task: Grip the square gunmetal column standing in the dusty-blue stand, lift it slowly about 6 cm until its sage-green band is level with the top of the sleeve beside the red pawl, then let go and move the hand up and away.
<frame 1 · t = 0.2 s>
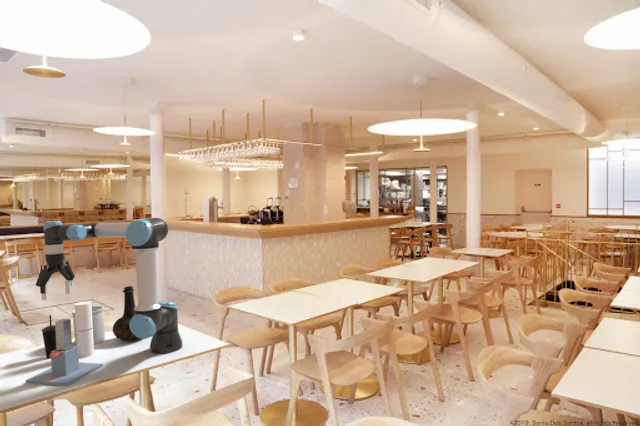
hand: (57, 296, 208), 28 cm above the table, tool pointing down, fingers open, 13 cm apart
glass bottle: (132, 339, 228), on the table
drinking cup: (52, 356, 206), on the table
cylindrical container: (85, 355, 207), on the table
stand: (65, 374, 183), on the table
column: (64, 345, 183), point 12 cm above the table, slide at 0.0 cm
utensil holder: (89, 342, 226), on the table
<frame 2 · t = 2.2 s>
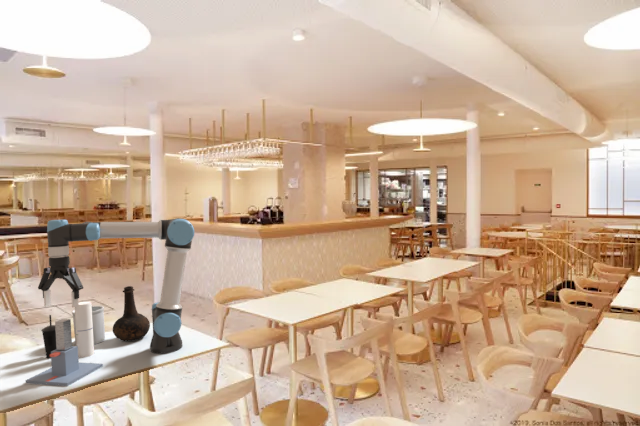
hand: (61, 306, 182), 29 cm above the table, tool pointing down, fingers open, 13 cm apart
nothing on the table moved.
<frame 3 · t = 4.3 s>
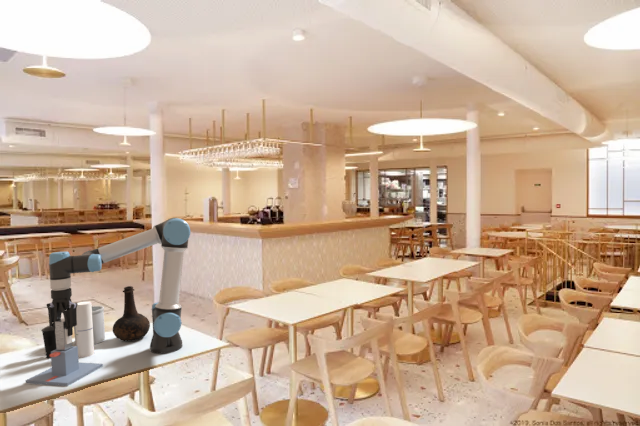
hand: (64, 342, 183), 14 cm above the table, tool pointing down, fingers closed on column, 4 cm apart
column: (64, 345, 183), point 12 cm above the table, slide at 0.0 cm, touching gripper
everything else where it was.
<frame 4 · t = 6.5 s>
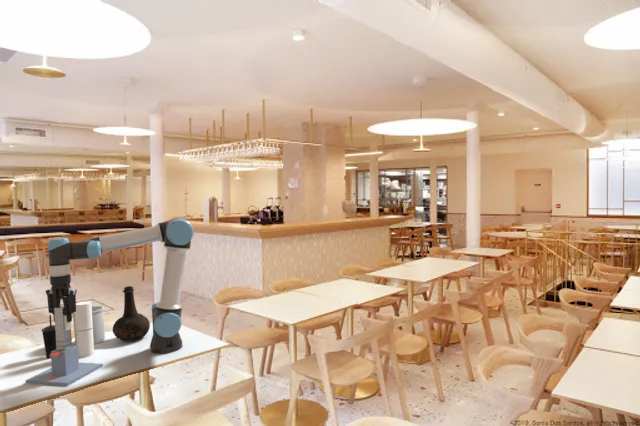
hand: (63, 329, 183), 19 cm above the table, tool pointing down, fingers closed on column, 4 cm apart
column: (63, 332, 183), point 18 cm above the table, slide at 5.8 cm, touching gripper
everything else where it was.
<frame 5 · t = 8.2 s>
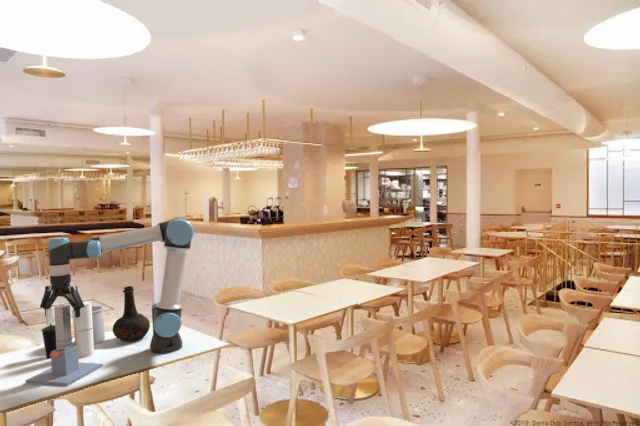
hand: (63, 324, 182), 22 cm above the table, tool pointing down, fingers open, 12 cm apart
column: (63, 332, 183), point 18 cm above the table, slide at 6.0 cm
everything else where it was.
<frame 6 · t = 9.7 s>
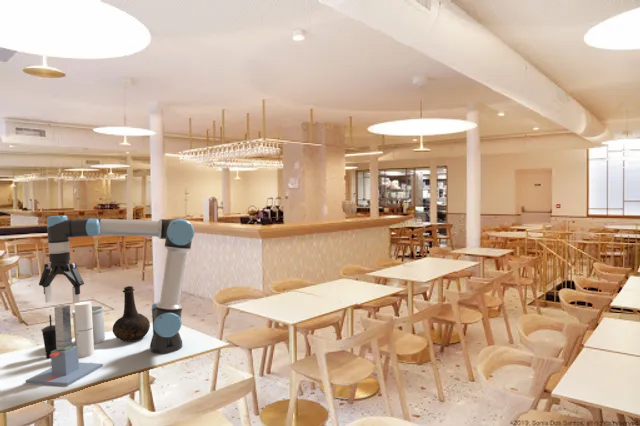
hand: (62, 302, 182), 31 cm above the table, tool pointing down, fingers open, 13 cm apart
nothing on the table moved.
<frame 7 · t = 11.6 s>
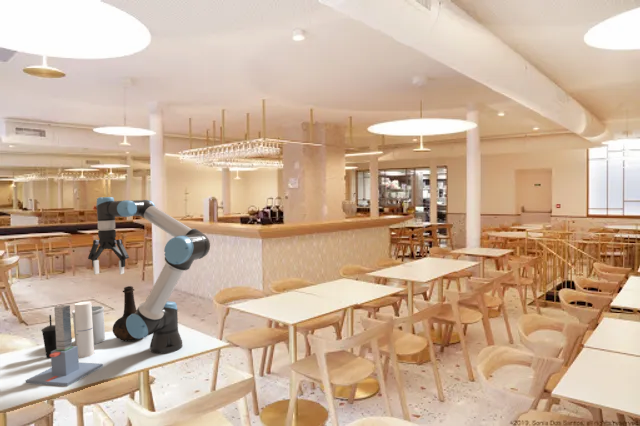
hand: (109, 273, 205), 39 cm above the table, tool pointing down, fingers open, 13 cm apart
nothing on the table moved.
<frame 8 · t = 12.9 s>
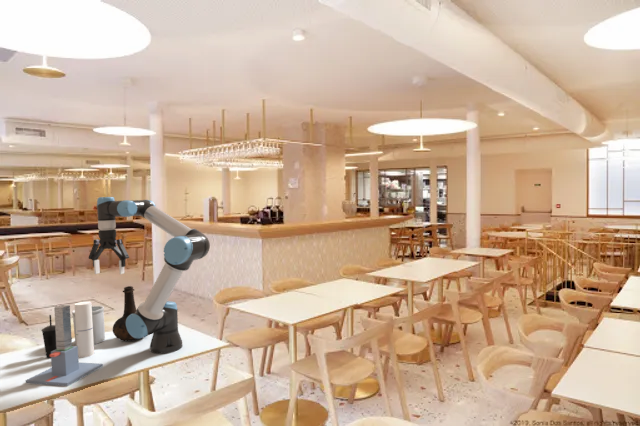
hand: (109, 273, 205), 39 cm above the table, tool pointing down, fingers open, 13 cm apart
nothing on the table moved.
at the end: column slide at 6.0 cm; the gripper is holding nothing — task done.
